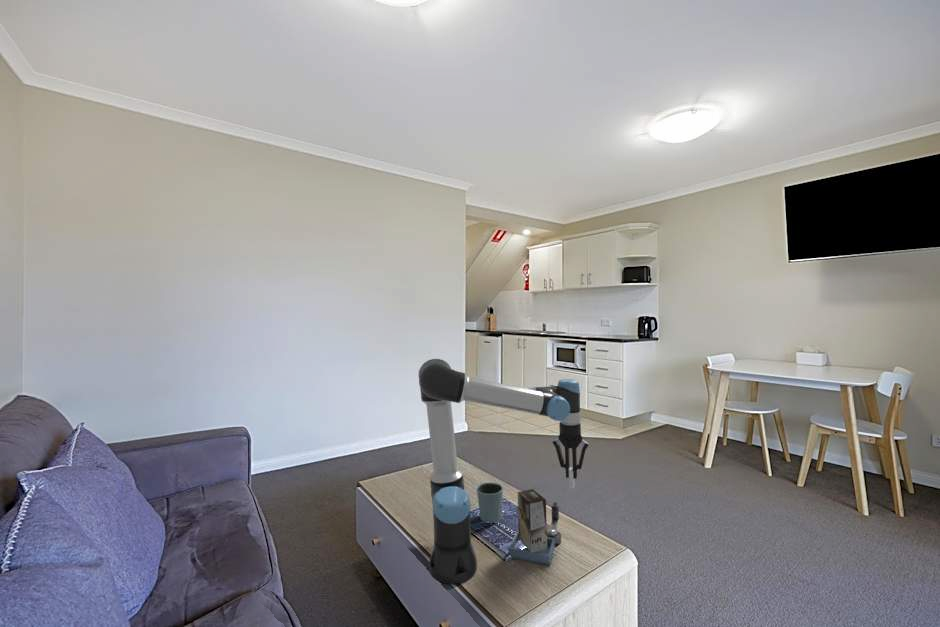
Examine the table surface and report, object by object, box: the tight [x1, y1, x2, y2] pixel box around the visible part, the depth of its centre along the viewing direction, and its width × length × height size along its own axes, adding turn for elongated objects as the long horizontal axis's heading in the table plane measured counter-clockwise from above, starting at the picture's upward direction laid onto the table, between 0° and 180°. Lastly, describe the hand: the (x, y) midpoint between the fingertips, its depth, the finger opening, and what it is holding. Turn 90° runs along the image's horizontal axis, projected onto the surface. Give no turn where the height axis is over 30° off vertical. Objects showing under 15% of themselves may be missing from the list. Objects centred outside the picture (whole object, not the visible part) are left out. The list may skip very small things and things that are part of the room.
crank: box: [547, 501, 560, 537], centre depth 143 cm, size 12×4×6 cm, turn 159°
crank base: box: [547, 531, 562, 546], centre depth 141 cm, size 6×15×2 cm, turn 69°
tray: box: [508, 531, 556, 566], centre depth 133 cm, size 10×13×3 cm
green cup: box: [476, 482, 504, 524], centre depth 155 cm, size 10×10×12 cm
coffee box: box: [517, 488, 548, 553], centre depth 133 cm, size 9×6×16 cm
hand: (571, 486), depth 145 cm, fingers closed
